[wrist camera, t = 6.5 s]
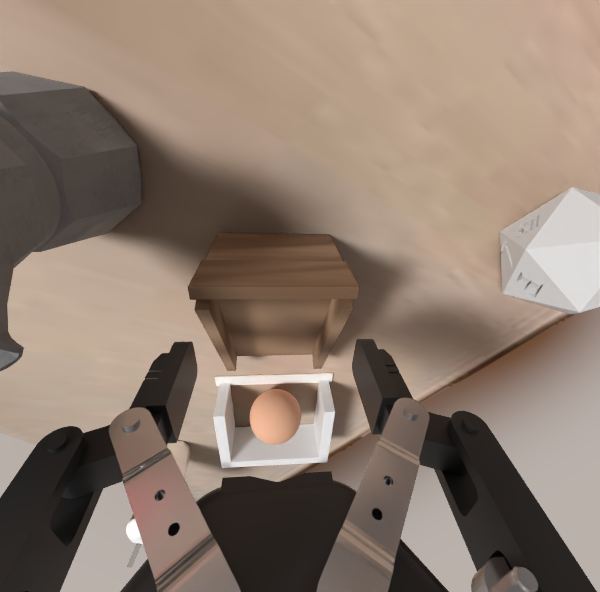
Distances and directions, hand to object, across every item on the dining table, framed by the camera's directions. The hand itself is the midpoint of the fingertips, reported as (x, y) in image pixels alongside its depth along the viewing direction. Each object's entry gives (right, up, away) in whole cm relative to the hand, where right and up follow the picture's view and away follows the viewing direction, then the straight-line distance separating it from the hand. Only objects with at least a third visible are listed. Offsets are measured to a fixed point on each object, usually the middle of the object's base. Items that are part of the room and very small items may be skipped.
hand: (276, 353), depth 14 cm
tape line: (-1, -6, +16) cm, 17 cm away
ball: (-1, -9, +14) cm, 17 cm away
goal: (-2, -10, +18) cm, 20 cm away
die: (+20, +8, +10) cm, 24 cm away
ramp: (-1, +2, +11) cm, 11 cm away
